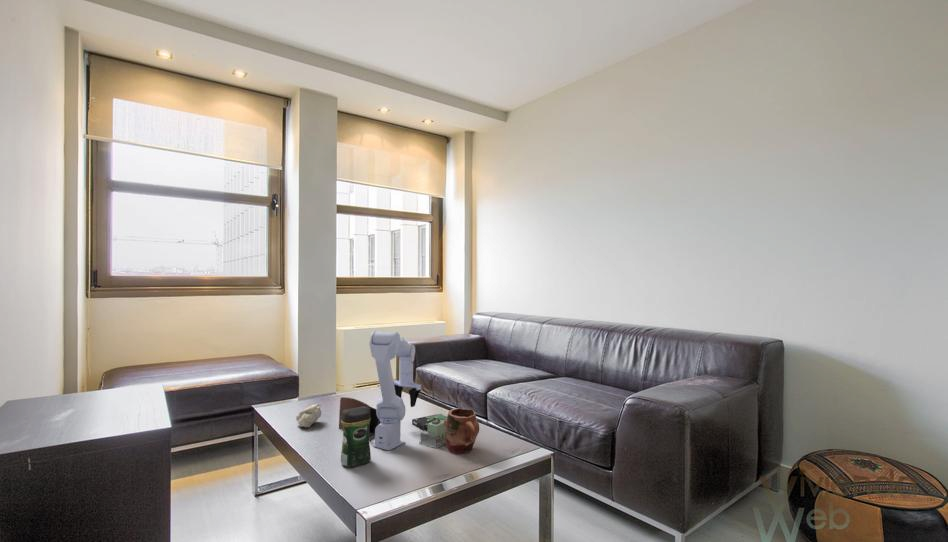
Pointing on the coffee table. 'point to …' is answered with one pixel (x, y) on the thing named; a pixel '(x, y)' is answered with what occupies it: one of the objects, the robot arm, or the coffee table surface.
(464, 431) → the decorative planter
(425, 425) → the disk drive
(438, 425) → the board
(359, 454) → the coffee jar
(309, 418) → the fossil replica
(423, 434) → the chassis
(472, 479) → the coffee table surface
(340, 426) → the letter holder
